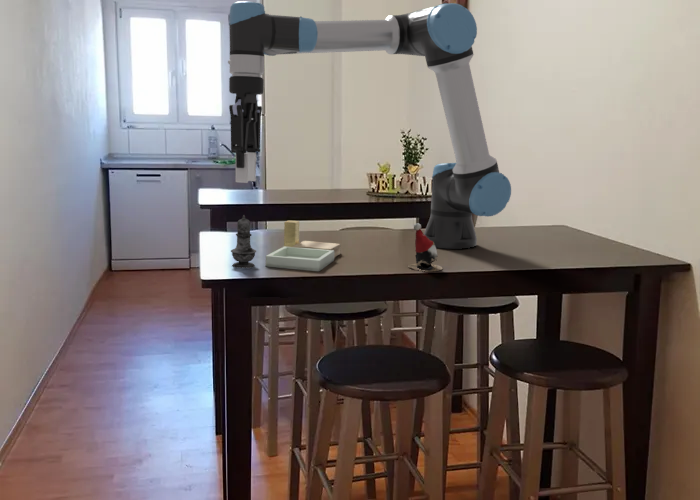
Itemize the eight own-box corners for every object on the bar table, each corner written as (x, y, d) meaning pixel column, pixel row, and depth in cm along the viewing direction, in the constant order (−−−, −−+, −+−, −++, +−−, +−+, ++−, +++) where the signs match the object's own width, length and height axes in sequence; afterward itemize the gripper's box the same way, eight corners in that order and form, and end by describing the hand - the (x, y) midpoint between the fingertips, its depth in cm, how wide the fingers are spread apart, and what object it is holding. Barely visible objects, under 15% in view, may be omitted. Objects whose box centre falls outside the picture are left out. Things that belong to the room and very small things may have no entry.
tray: (334, 260, 174) (334, 250, 174) (319, 271, 162) (319, 260, 161) (284, 256, 177) (284, 246, 177) (265, 266, 165) (265, 255, 165)
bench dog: (298, 251, 184) (299, 221, 182) (295, 253, 181) (295, 222, 179) (287, 250, 184) (288, 220, 183) (283, 252, 182) (284, 221, 180)
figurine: (459, 253, 169) (431, 224, 163) (438, 287, 167) (409, 259, 161) (436, 247, 176) (408, 219, 170) (416, 280, 174) (387, 253, 167)
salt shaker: (231, 262, 168) (231, 212, 165) (256, 263, 168) (257, 213, 166) (229, 268, 162) (229, 216, 160) (255, 268, 162) (256, 217, 160)
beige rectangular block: (340, 255, 183) (340, 243, 183) (330, 261, 176) (330, 249, 175) (304, 251, 186) (304, 240, 185) (292, 257, 178) (293, 245, 178)
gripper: (245, 77, 165) (244, 177, 170) (214, 73, 149) (214, 183, 154) (275, 78, 164) (274, 179, 168) (247, 73, 147) (246, 186, 152)
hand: (245, 181), depth 161 cm, fingers open, 4 cm apart
